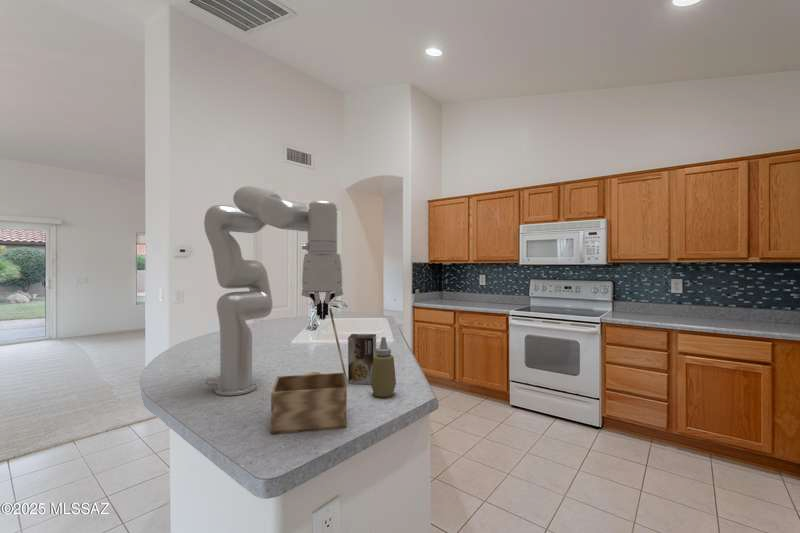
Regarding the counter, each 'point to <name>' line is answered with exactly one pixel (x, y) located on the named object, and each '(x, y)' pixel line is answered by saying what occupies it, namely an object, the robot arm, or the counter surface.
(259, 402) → the counter surface
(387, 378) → the squeeze bottle
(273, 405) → the carton
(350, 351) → the grey upright box
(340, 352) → the carton flap
